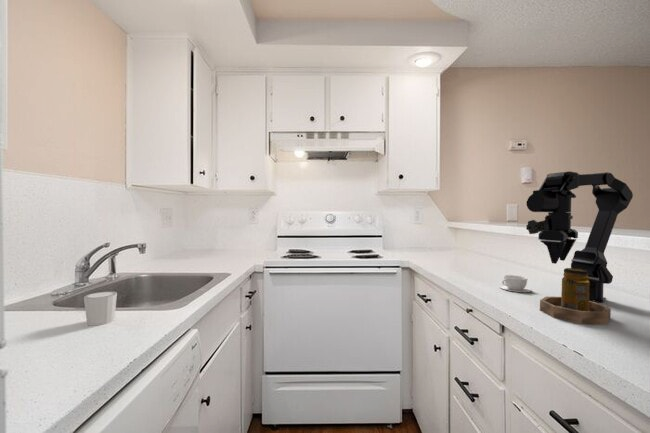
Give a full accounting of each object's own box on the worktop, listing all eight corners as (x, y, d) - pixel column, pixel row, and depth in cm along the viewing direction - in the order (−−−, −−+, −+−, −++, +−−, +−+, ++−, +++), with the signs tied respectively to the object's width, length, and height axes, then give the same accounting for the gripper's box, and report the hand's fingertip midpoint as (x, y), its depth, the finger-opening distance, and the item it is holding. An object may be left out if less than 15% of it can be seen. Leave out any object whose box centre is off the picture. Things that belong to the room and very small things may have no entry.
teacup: (518, 286, 120) (518, 274, 119) (538, 293, 110) (538, 280, 110) (493, 286, 119) (494, 274, 118) (512, 293, 109) (512, 280, 109)
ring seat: (550, 303, 96) (550, 294, 96) (613, 315, 85) (613, 305, 85) (535, 313, 87) (535, 302, 87) (603, 328, 76) (603, 316, 76)
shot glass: (78, 327, 74) (78, 299, 74) (91, 318, 81) (91, 291, 81) (111, 325, 76) (110, 297, 76) (121, 316, 83) (121, 290, 83)
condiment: (588, 310, 88) (589, 269, 87) (594, 319, 81) (595, 274, 80) (556, 306, 92) (557, 266, 91) (559, 314, 85) (560, 270, 84)
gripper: (538, 212, 109) (537, 256, 109) (519, 212, 97) (518, 261, 97) (578, 212, 100) (577, 260, 101) (563, 212, 88) (562, 266, 89)
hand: (558, 261), depth 97 cm, fingers open, 9 cm apart
